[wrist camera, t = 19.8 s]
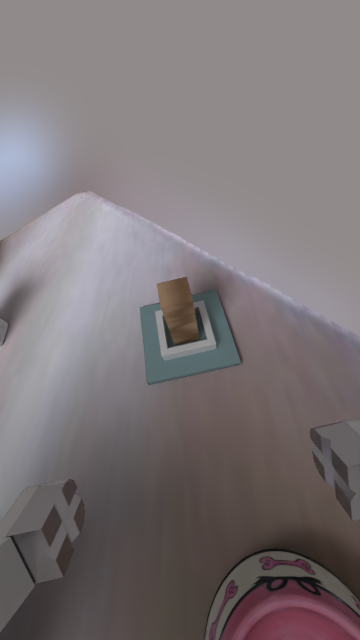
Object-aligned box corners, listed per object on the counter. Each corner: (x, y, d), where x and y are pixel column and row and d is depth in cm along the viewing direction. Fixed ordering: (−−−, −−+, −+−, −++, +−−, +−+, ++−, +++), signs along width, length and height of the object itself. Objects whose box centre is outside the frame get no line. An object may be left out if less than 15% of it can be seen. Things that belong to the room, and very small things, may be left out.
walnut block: (175, 345, 42) (160, 307, 32) (171, 324, 45) (156, 283, 34) (199, 339, 42) (192, 300, 32) (194, 319, 44) (186, 276, 34)
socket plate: (149, 384, 40) (144, 379, 37) (141, 310, 49) (136, 301, 46) (240, 364, 40) (241, 357, 37) (216, 292, 48) (216, 283, 46)
